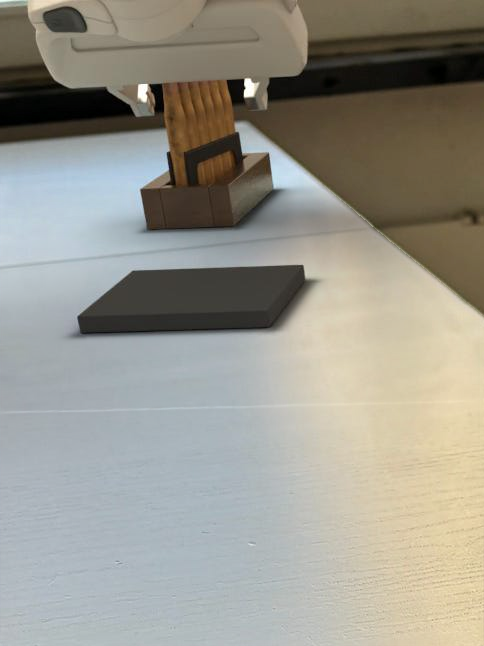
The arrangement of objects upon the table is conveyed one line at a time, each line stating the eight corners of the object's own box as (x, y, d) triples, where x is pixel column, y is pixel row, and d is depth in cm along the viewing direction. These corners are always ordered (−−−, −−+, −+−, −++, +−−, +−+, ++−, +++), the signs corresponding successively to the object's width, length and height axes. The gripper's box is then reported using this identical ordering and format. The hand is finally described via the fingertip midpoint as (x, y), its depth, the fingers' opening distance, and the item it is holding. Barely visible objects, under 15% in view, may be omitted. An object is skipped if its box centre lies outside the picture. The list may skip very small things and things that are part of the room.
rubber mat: (80, 333, 84) (76, 316, 83) (135, 285, 93) (132, 270, 93) (269, 327, 83) (267, 310, 82) (305, 279, 92) (303, 264, 92)
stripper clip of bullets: (230, 196, 120) (207, 38, 113) (249, 196, 119) (227, 38, 112) (175, 221, 111) (148, 53, 104) (196, 221, 111) (169, 52, 104)
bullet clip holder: (147, 229, 109) (139, 189, 107) (195, 192, 122) (190, 155, 120) (234, 226, 109) (228, 185, 107) (273, 189, 121) (269, 152, 120)
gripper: (288, -78, 96) (328, 64, 110) (12, -59, 98) (86, 78, 112) (284, 1, 95) (325, 134, 109) (6, 18, 97) (81, 147, 111)
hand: (202, 106), depth 110 cm, fingers open, 8 cm apart
